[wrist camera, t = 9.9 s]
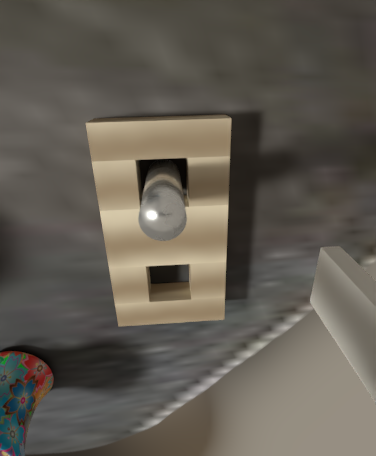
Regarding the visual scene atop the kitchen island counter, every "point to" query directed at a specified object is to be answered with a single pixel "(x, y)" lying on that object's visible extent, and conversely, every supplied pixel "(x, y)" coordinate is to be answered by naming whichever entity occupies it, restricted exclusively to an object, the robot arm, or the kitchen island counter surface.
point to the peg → (162, 202)
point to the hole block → (195, 211)
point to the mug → (20, 397)
